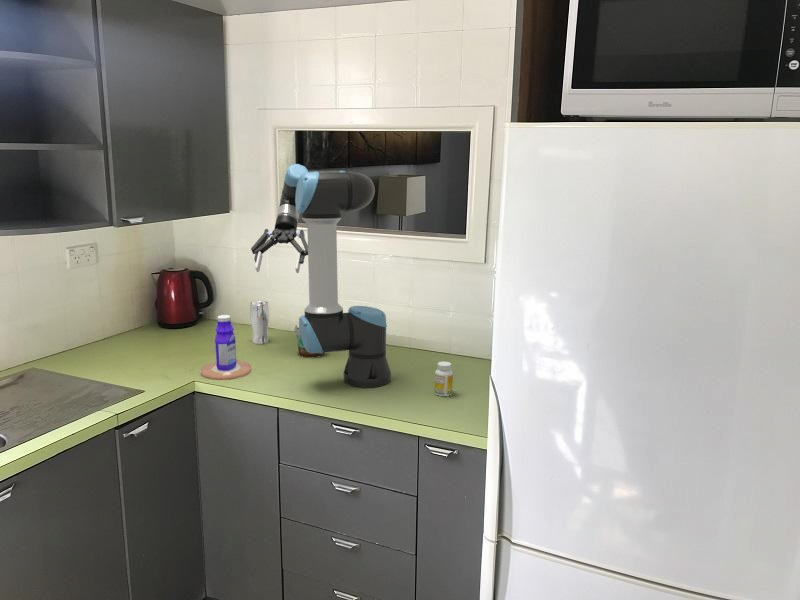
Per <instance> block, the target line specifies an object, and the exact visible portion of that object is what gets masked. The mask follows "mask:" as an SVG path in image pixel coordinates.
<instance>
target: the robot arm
mask: <svg viewBox="0 0 800 600" xmlns="http://www.w3.org/2000/svg"><path fill="white" fill-rule="evenodd" d="M285 171H286V172H285V175H284V182H283V187H282V191H281V196H280V199H279V201H280V203H279V206H278V211H277V215H276V219H275V224H274V228H273V230H269V229H268V228H265V229H264V231H263V234H262V235H261V236H260V237H259V238H258V240H256V242H255V243H254V244H252V245H253V246H252V247H251V248H250V251H251V252H252V255H254V263H255V265H254V268H255V271H256V273H259V272H260V269H261V265H262V261H263V257H264V255H263V254H264V253H266V251H268V250H269V249H270V248H272V247H273V246H275V245H277V244H289V243H290V244H291V245H292V246H293V247H294V248H295V250H296V251H297V255H296V256H297V257H296V261H295V268H294V269H295V272H296V274H299V273H300V268H301V265H303V264H304V262H305V258H306V257H307V265H308V296H309V297H308V302H309V304H308V305H307V306H306V307H305V308H304V315H301V316H299V318H298V328H300V334H301V338H302V342H303V345H304V347H305V349H306V350H307V351H308V352H309V353H325V354H326V353H334V352H345V351H348V357H347V360H346V361H347V362H346V363H345V364H346V365H345V366H344V370H343V373H342V374H343V382H344V383H346V384H347V385H349V386H353V387H359V388H377V387H382V386H385V385H388V384H389V383H390V382H391V380H392V371H391V369H390V364H389V362H388V359H387V345H386V344H387V327H388V324H387V315H386V313H385V312H384V311H383V310H382V309H379V308H377V307H373V306H372V307H371V306H367V305H352V306H350V307H349V308H348V310H347V312H344V308H343V307H342V306H341V304H339V297H338V295H339V294H338V293H339V292H338V291H339V289H338V246H337V245H338V243H337V242H338V240H337V239H338V237H337V233H338V232H337V230H338V229H337V224H338V223H339V222H340V221H341V220H342V212H343V213H345V212H346V213H347V212H356V211H359V210H362V209H364V208H365V207H367V206H368V205H369V204H371V202H372V201H373V199H374V196H375V194H376V193H375V192H376V189H375V185H374V184H375V183H374V182H373V180H372V179H371V178H370V177H369V176H367V175H365V174H363V173H360V172H356V171H355V172H354V171H345V170H337V169H336V170H308V169H307V168H306V166H304V165H302V164H299V163H294V164H291V165H289V166H288V168H287V169H286V170H285ZM300 214H301V220H303V222H304V223H306V225H307V228H306V230H307V241H306V237H305V235H306V234H305V231H304V230H303V229H300V230H299V231H297V229H298V225H299V223H298V222H299V218H300ZM297 237H298V238H299V239H300V240H301V244H302V245H303V248H304V249H303V248H302V246H301V245H300V244H299V243H298V242H297V240H296V239H295V238H297Z"/></svg>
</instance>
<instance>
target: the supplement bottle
mask: <svg viewBox="0 0 800 600" xmlns="http://www.w3.org/2000/svg"><path fill="white" fill-rule="evenodd" d="M453 372H454V371H453V370H452V363H451V362H448V361H439V362H437V369H436V370H435V372H434V389H433V391H434V394H435V395H436V396H437V395H439V396H438V397H441V396H447V397H450V396H451V395H452V394H453V383H454V381H453V378H454V373H453ZM449 395H450V396H449Z"/></svg>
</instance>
